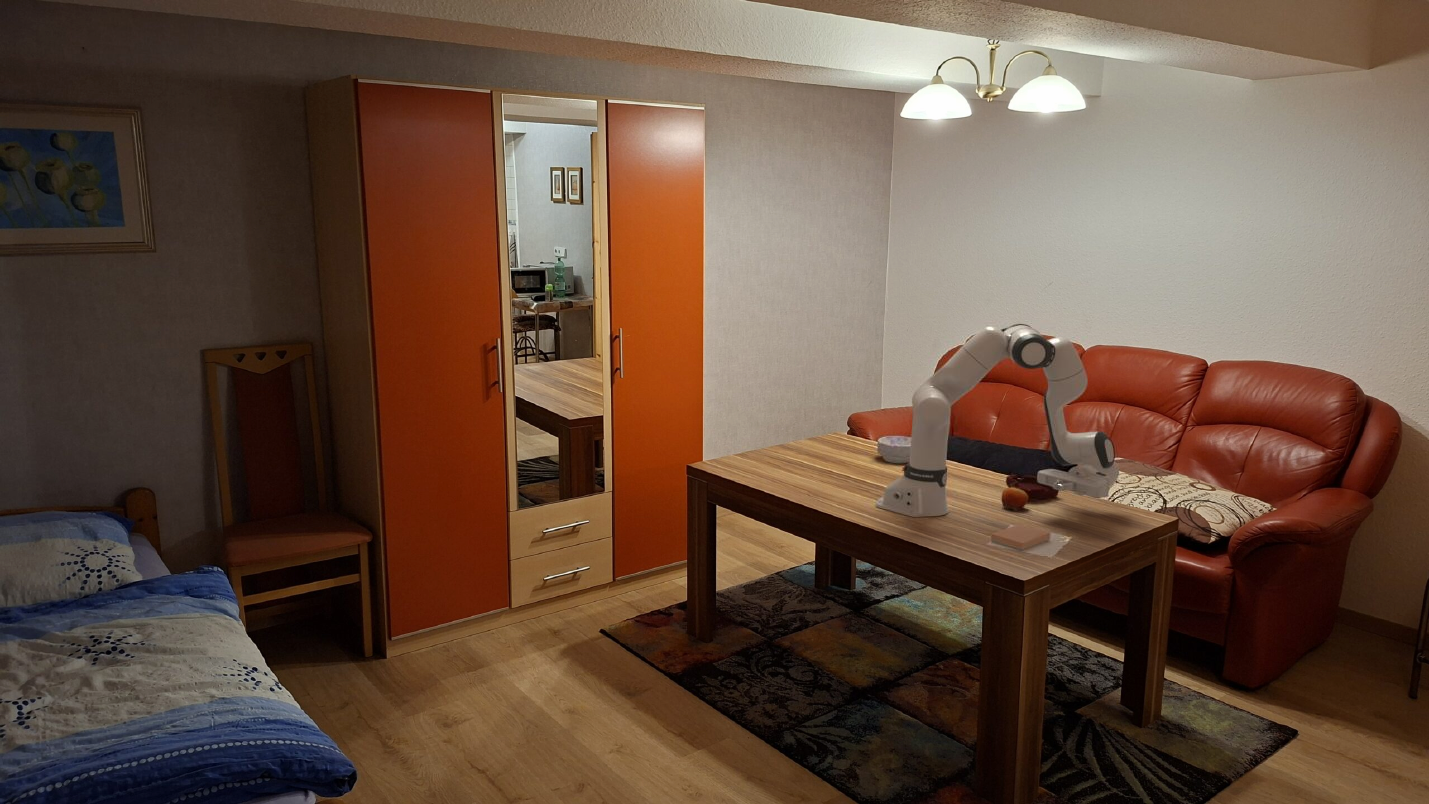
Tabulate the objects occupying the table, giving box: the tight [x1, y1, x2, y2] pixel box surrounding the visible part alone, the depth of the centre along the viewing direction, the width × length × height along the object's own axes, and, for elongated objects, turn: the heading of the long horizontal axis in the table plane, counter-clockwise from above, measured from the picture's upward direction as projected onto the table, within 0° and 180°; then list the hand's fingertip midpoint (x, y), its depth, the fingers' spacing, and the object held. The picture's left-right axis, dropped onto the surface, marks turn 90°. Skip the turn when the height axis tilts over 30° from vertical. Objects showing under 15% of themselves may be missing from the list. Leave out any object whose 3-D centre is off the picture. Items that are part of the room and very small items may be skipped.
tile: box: [990, 523, 1052, 552], centre depth 270 cm, size 2×10×14 cm
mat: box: [986, 524, 1070, 559], centre depth 271 cm, size 18×21×1 cm
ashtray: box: [1005, 474, 1060, 501], centre depth 315 cm, size 18×16×5 cm
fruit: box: [1001, 487, 1029, 512], centre depth 300 cm, size 8×8×8 cm
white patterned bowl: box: [877, 435, 911, 464], centre depth 358 cm, size 15×15×8 cm
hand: (1057, 487), depth 280 cm, fingers closed
